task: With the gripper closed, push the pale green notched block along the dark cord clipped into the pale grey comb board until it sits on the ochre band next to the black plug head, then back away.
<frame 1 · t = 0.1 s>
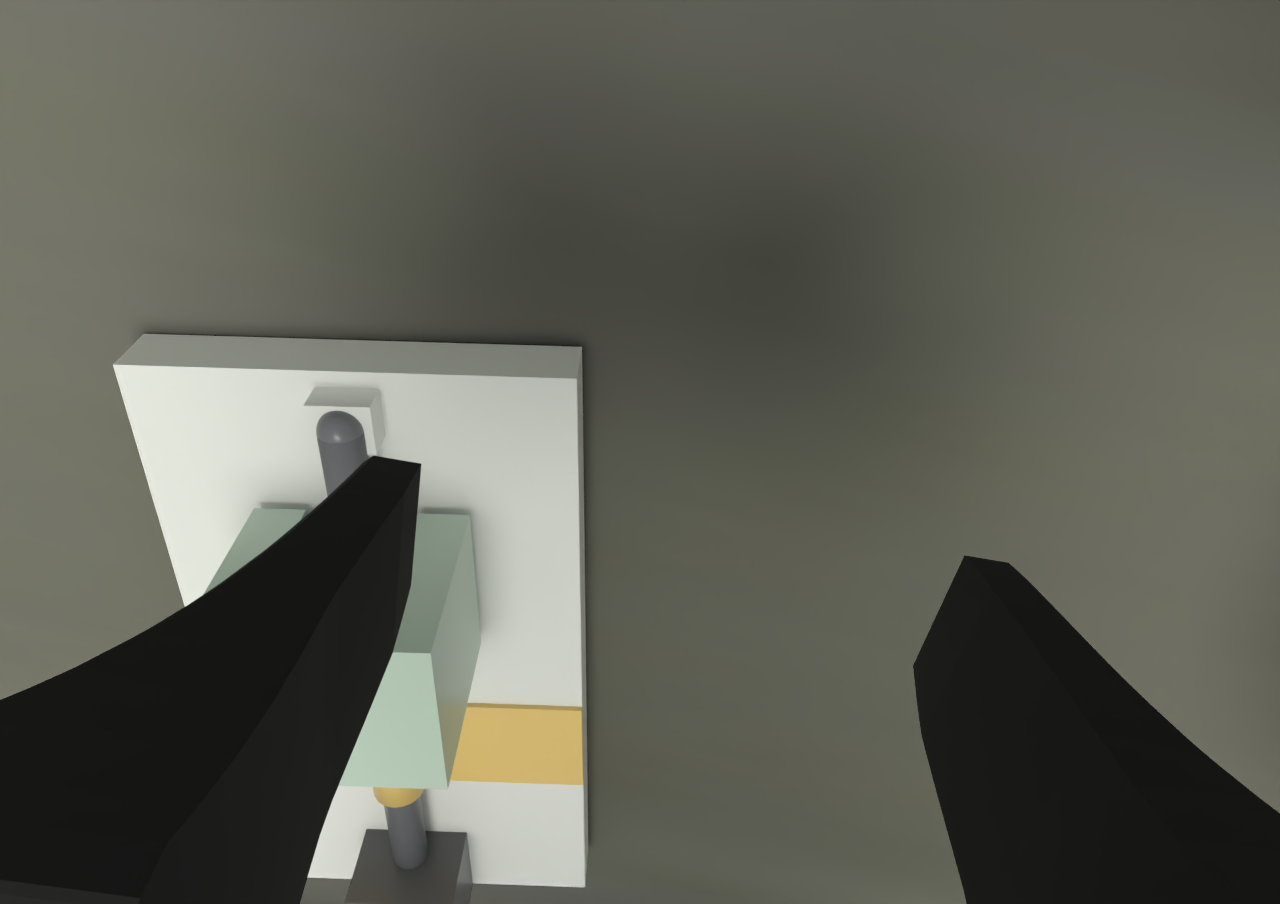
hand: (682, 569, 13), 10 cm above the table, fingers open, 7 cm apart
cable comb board: (404, 634, 28), on the table
pale green notched block: (347, 643, 22), point 4 cm above the table, slide at 6.0 cm
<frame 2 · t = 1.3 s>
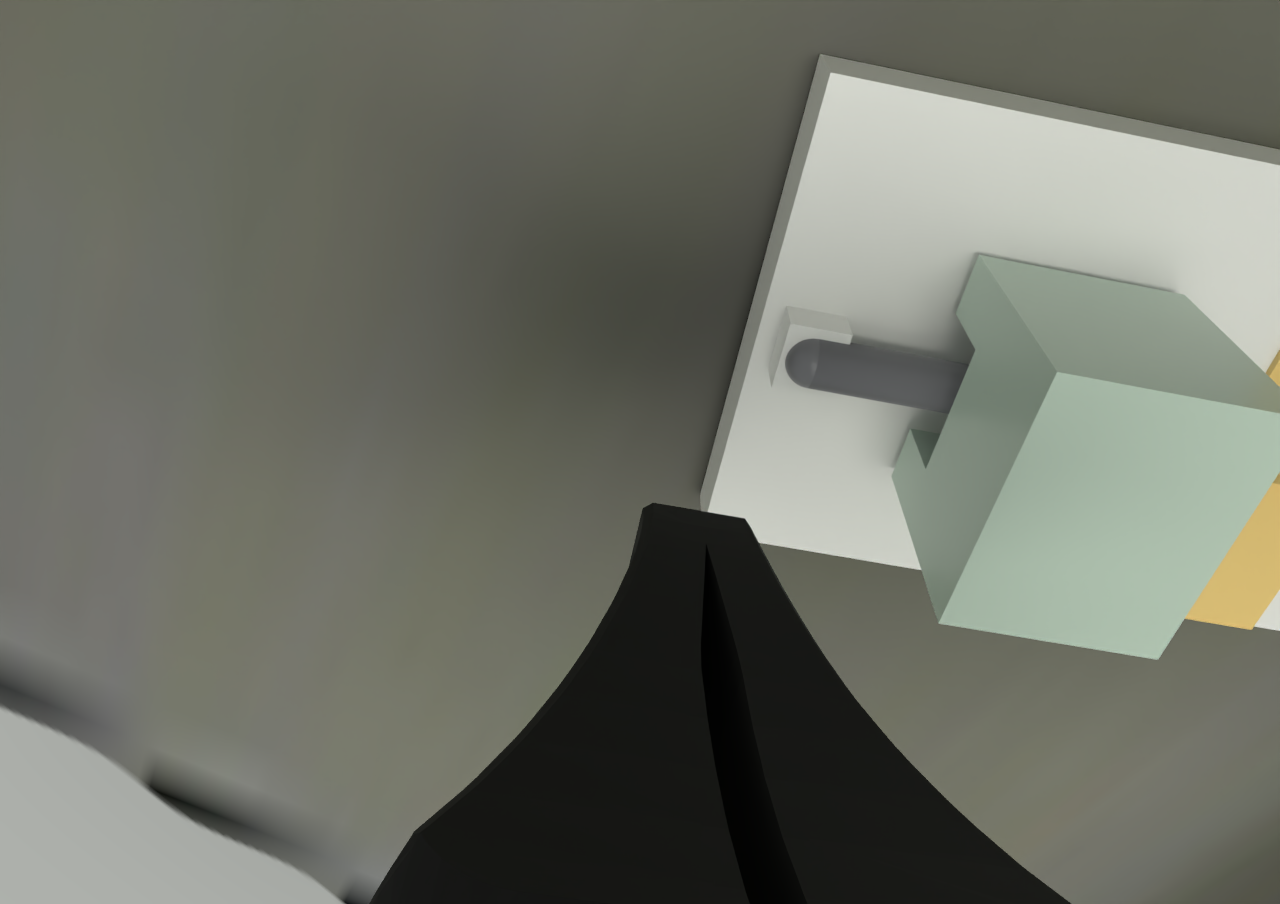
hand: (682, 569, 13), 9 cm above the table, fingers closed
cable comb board: (1159, 378, 22), on the table
pale green notched block: (1066, 452, 18), point 4 cm above the table, slide at 6.0 cm
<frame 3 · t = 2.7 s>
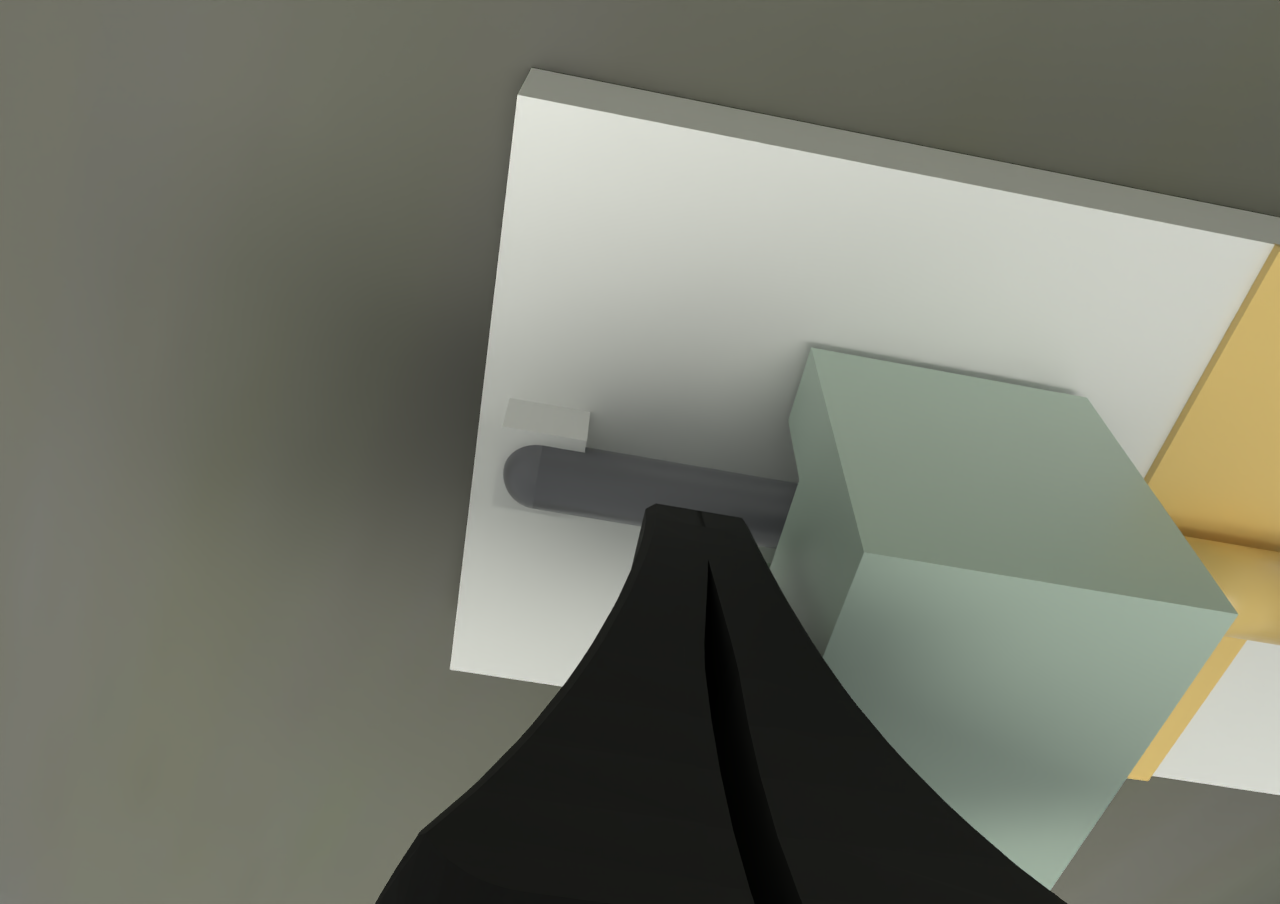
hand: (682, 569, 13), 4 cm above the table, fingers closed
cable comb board: (1020, 476, 17), on the table
pale green notched block: (924, 615, 13), point 4 cm above the table, slide at 5.1 cm, touching gripper
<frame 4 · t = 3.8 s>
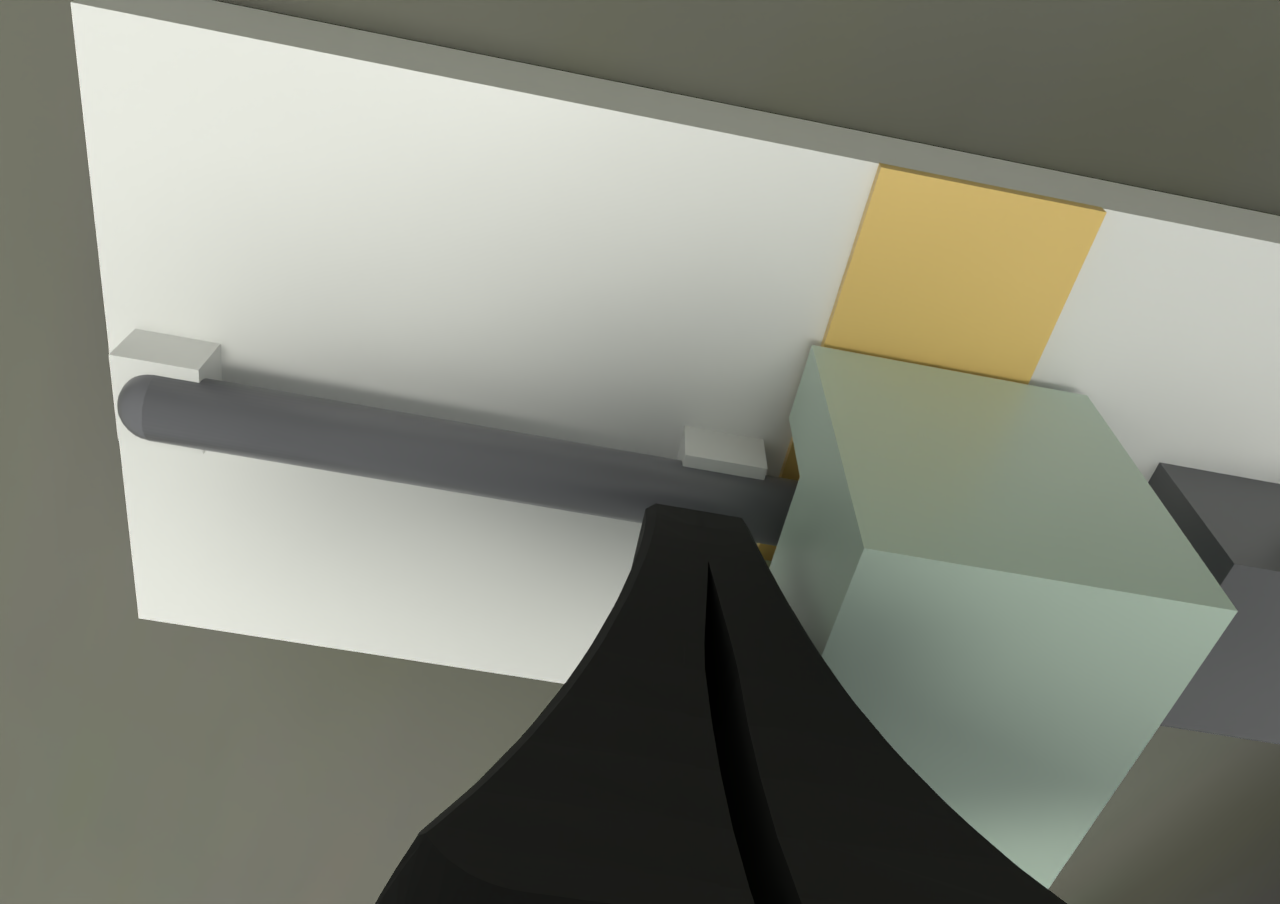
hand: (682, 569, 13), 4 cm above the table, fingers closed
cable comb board: (710, 419, 17), on the table
pale green notched block: (924, 612, 13), point 4 cm above the table, slide at -0.3 cm, touching gripper
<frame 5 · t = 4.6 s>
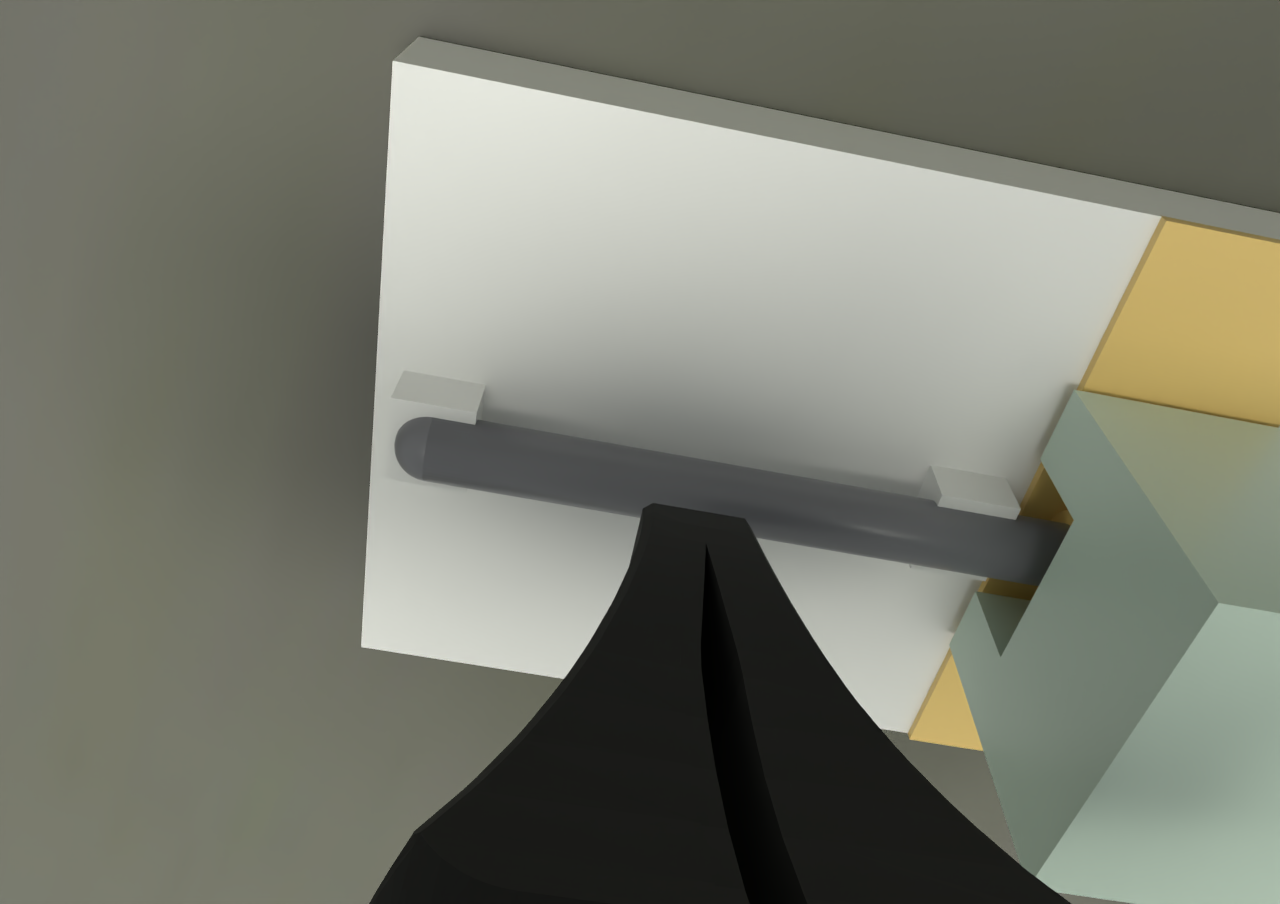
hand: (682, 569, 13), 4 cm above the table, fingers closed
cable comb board: (931, 455, 17), on the table
pale green notched block: (1190, 652, 14), point 4 cm above the table, slide at -0.3 cm
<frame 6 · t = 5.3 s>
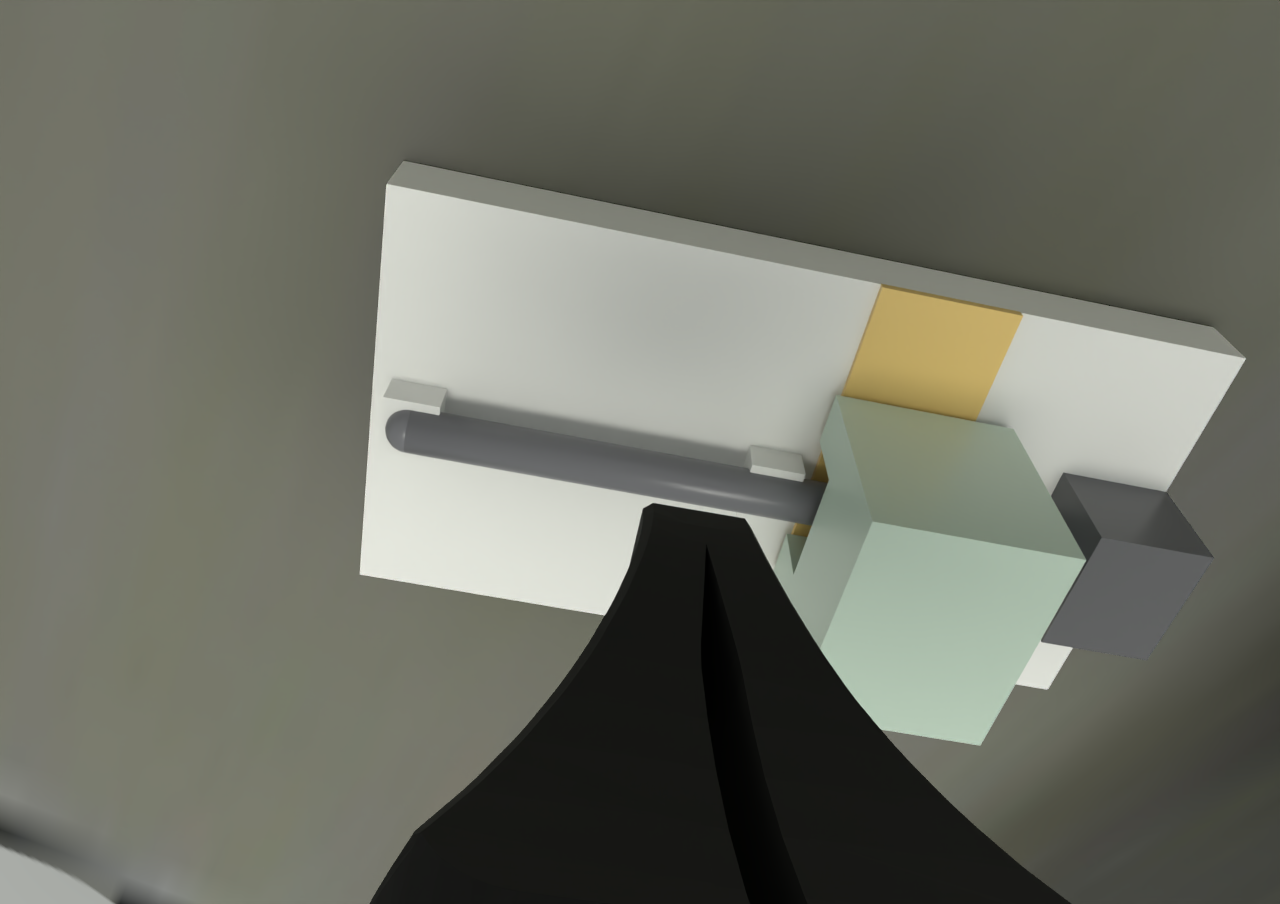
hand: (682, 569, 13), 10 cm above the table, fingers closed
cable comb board: (762, 440, 24), on the table
pale green notched block: (906, 567, 21), point 4 cm above the table, slide at -0.3 cm
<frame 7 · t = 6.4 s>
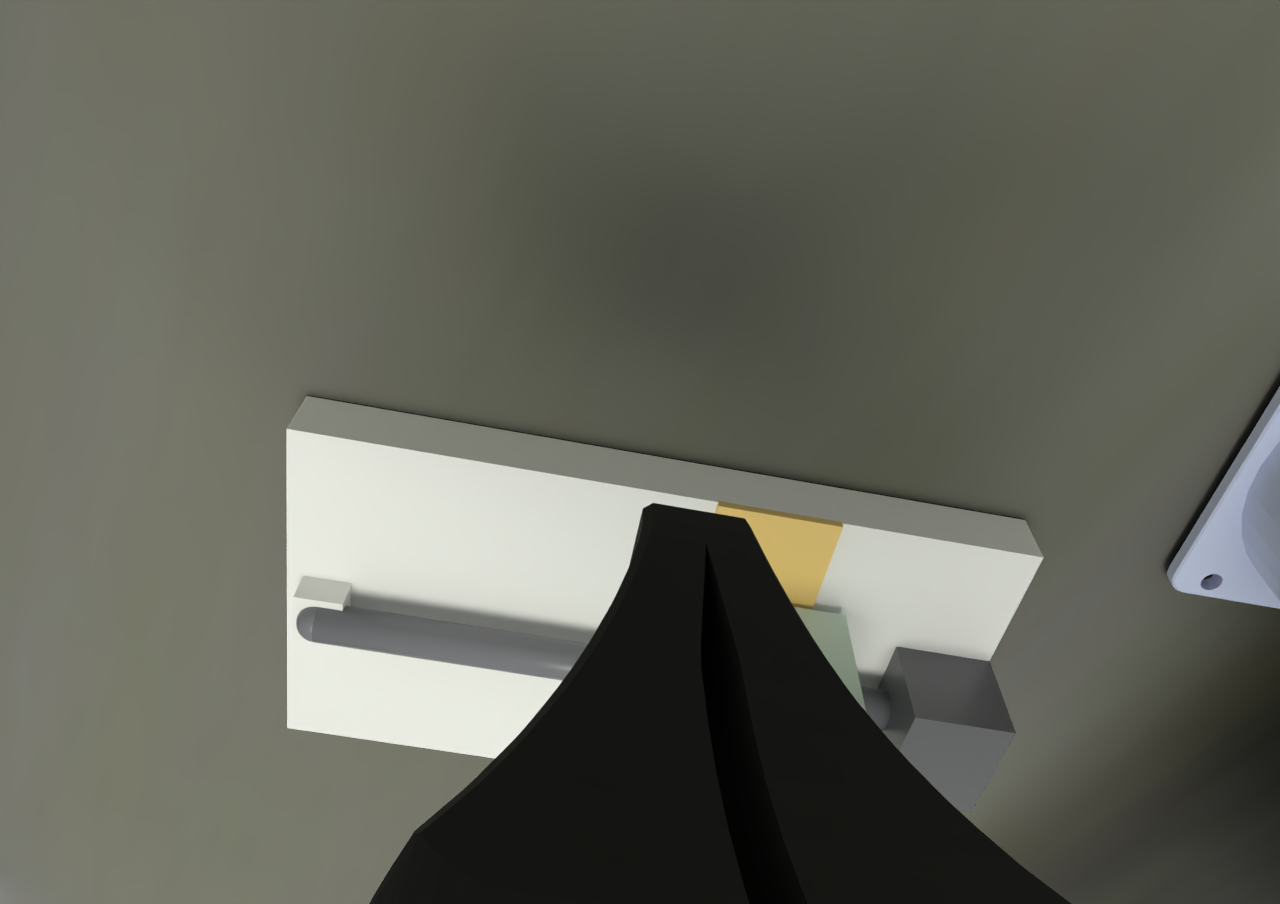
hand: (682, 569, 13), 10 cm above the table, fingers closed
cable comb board: (638, 610, 27), on the table
pale green notched block: (748, 741, 24), point 4 cm above the table, slide at -0.3 cm
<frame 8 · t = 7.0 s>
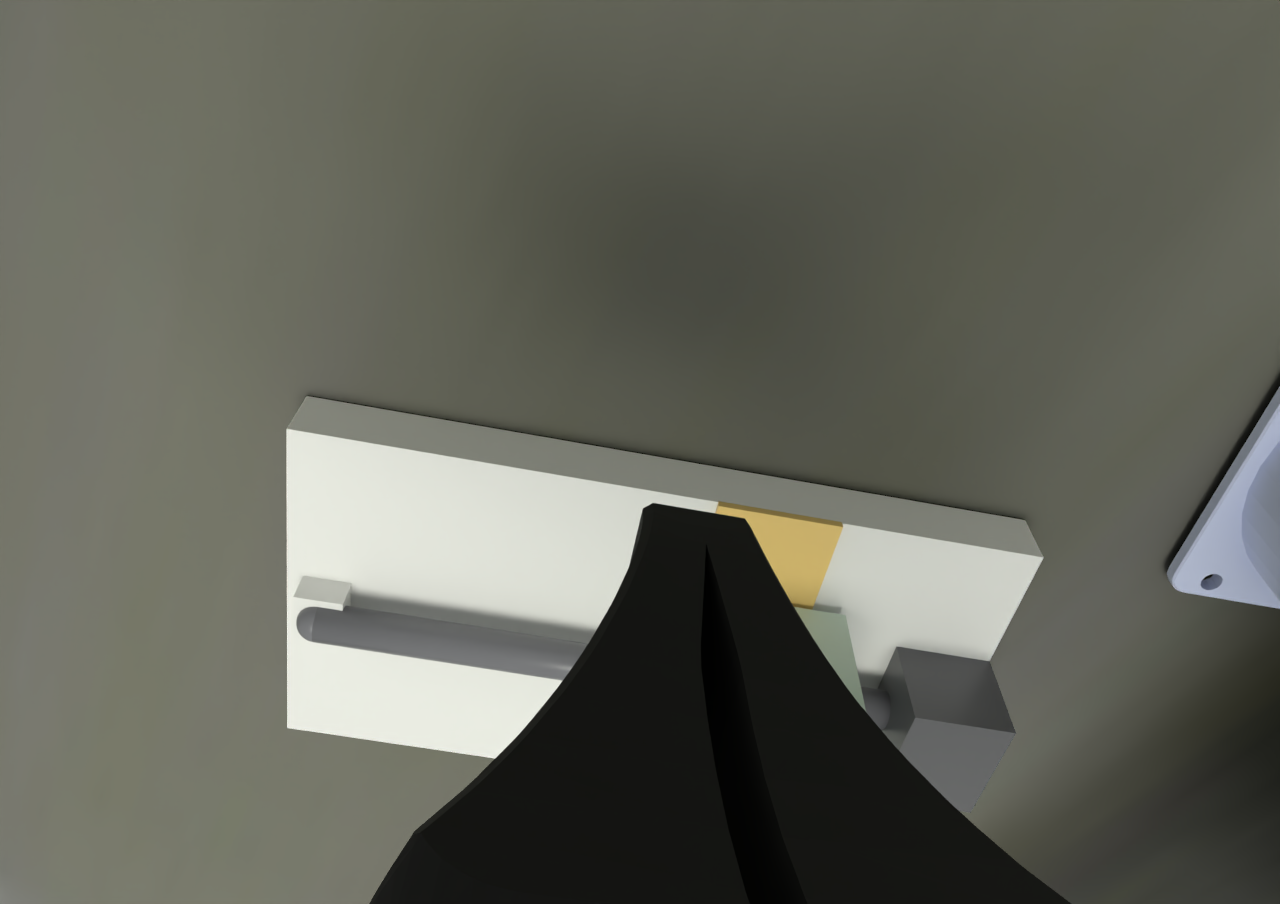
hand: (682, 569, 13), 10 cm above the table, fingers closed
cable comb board: (638, 610, 27), on the table
pale green notched block: (748, 741, 24), point 4 cm above the table, slide at -0.3 cm
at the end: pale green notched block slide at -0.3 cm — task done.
